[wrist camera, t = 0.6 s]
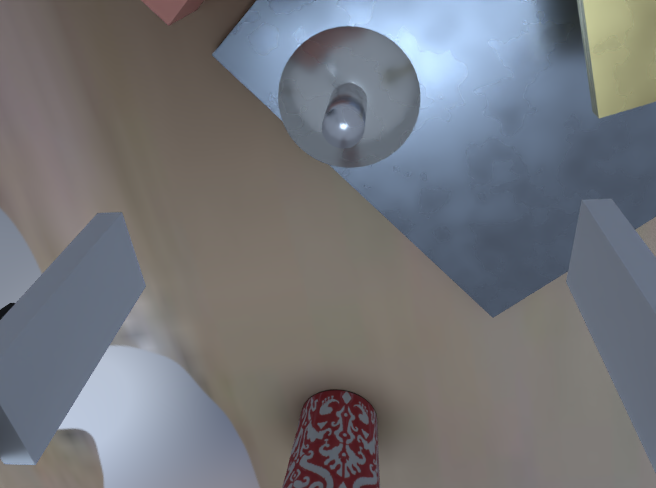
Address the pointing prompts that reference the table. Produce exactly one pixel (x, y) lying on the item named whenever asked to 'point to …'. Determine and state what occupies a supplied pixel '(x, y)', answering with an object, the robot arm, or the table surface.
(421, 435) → the table surface
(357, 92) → the pintle
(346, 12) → the plate
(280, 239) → the table surface
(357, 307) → the table surface
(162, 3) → the link
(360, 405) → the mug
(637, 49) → the block
